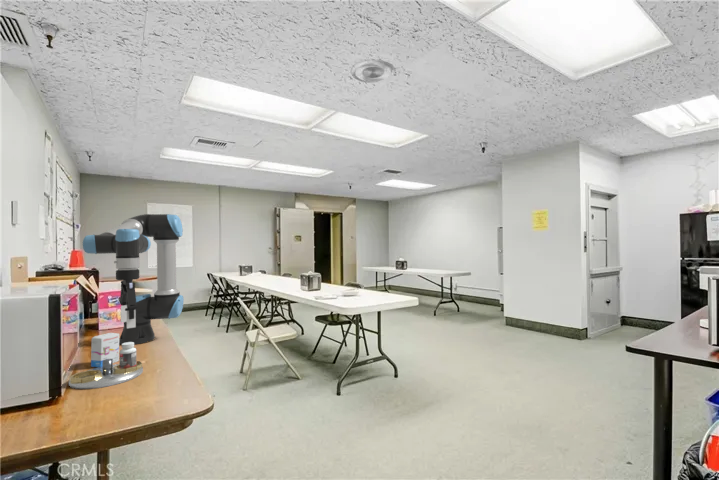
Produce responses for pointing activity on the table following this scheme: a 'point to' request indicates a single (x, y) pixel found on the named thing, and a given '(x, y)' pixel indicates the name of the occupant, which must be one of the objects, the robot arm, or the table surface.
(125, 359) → the pill bottle
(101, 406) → the table surface
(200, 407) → the table surface
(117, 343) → the ink box
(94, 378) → the carrier
